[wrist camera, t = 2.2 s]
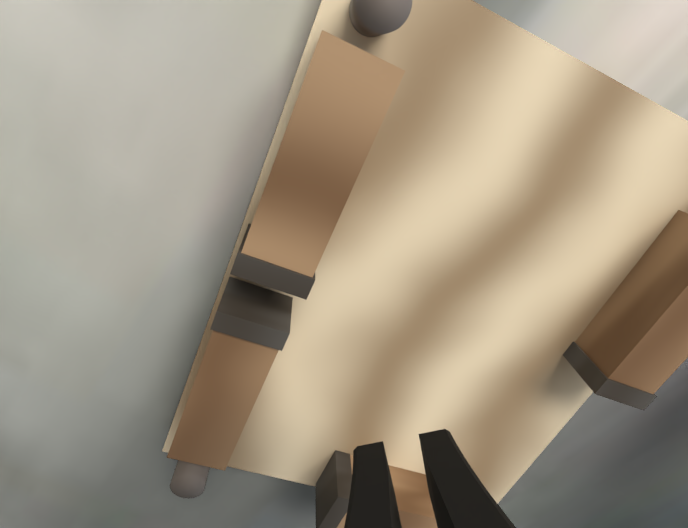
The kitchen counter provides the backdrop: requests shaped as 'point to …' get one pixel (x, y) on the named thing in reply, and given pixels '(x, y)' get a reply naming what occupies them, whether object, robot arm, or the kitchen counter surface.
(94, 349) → the kitchen counter surface
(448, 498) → the robot arm
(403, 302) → the stool seat
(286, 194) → the folding leg
